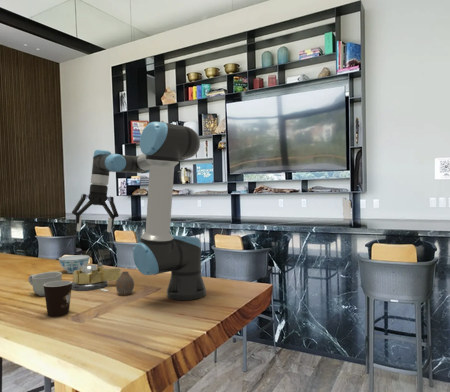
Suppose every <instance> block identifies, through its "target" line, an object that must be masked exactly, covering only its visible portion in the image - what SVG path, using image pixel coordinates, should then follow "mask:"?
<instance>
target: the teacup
mask: <svg viewBox="0 0 450 392" xmlns="http://www.w3.org/2000/svg"><path fill="white" fill-rule="evenodd" d="M62 275H63V273H62V272H60V271H46V272H40V273H36V274H30V275H29V276H28V283H29V284H30V285H31V286H32V290H33V292H34V293H35V294H36V295H38V296H40V297H45V292H44V284H46V283H49V282H54V281H63V278H62Z"/></svg>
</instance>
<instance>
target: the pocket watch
mask: <svg viewBox="0 0 450 392" xmlns="http://www.w3.org/2000/svg"><path fill="white" fill-rule="evenodd" d="M101 260H102V258H101V257H99V259H98V262H97V264H96V265H97V269H98V267H100V266H102V267H104V266H103V263H102V261H101Z"/></svg>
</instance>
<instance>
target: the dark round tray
mask: <svg viewBox="0 0 450 392" xmlns="http://www.w3.org/2000/svg"><path fill="white" fill-rule="evenodd" d="M97 265H98V264H87V265H84V266H82V273H92V270H97ZM108 283H109V281H101V282H97V283H90V284H77V283H74V282H73V281H72V290H71V291H75V292H76V291H77V292H88V291H95V290H99V289H105V288H106V287H107V286H108Z"/></svg>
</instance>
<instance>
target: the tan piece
mask: <svg viewBox="0 0 450 392" xmlns="http://www.w3.org/2000/svg"><path fill="white" fill-rule="evenodd" d="M102 266H103V265H102ZM102 266H100V267H98V269H97V270H92V273H82V267H81V270H74V272H73V273H72V275H73V277H72V282H74V283H77V284H90V283H97V282H101V281H108V282H114V281H116V282H117V280H118V278H119V277H120V275H121V273H122V267H104V266H103V267H102Z"/></svg>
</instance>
